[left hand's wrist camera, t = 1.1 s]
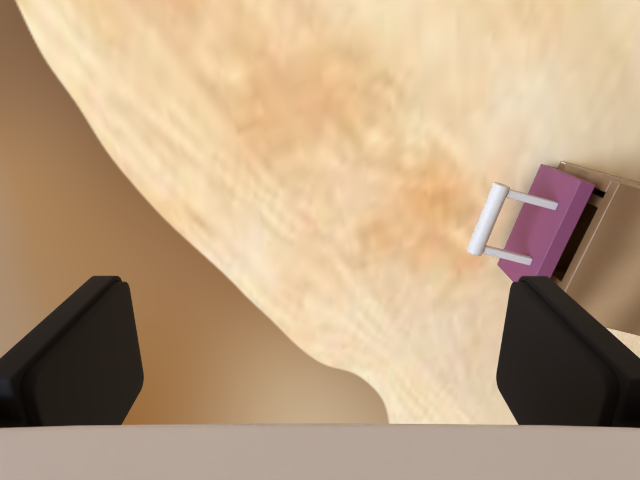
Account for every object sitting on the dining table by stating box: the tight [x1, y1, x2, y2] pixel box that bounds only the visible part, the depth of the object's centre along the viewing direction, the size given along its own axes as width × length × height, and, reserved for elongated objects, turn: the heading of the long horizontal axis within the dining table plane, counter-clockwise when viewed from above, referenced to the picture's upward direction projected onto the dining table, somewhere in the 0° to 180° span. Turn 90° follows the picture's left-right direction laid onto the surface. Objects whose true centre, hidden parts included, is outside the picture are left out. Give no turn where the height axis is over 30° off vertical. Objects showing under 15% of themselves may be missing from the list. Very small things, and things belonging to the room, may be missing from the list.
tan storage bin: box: [558, 161, 640, 336], centre depth 38 cm, size 15×11×8 cm
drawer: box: [467, 164, 605, 286], centre depth 38 cm, size 19×10×6 cm, turn 75°
